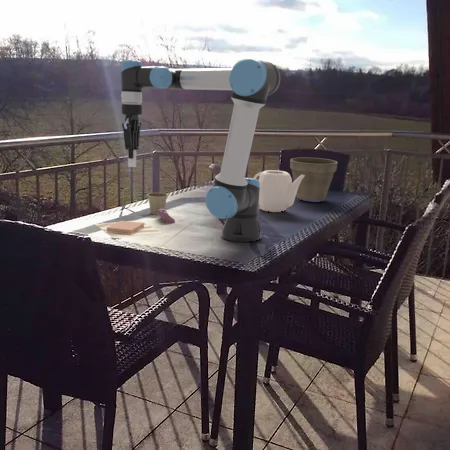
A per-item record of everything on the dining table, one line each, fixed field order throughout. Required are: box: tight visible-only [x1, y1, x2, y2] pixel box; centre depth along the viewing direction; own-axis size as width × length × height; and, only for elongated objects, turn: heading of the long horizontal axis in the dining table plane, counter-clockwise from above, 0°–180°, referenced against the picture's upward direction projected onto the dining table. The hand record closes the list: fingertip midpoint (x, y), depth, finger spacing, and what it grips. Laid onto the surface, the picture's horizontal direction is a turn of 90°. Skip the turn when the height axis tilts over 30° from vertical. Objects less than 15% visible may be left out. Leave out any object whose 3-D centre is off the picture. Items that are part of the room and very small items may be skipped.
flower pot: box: [146, 192, 169, 216], centre depth 228 cm, size 9×9×9 cm
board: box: [94, 219, 162, 241], centre depth 198 cm, size 22×19×1 cm
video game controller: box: [156, 208, 176, 224], centre depth 213 cm, size 10×5×7 cm, turn 21°
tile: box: [107, 220, 145, 234], centre depth 196 cm, size 10×2×12 cm
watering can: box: [252, 169, 305, 213], centre depth 243 cm, size 16×27×19 cm, turn 62°
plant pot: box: [289, 157, 338, 200], centre depth 273 cm, size 25×25×22 cm
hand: (132, 166), depth 196 cm, fingers closed
